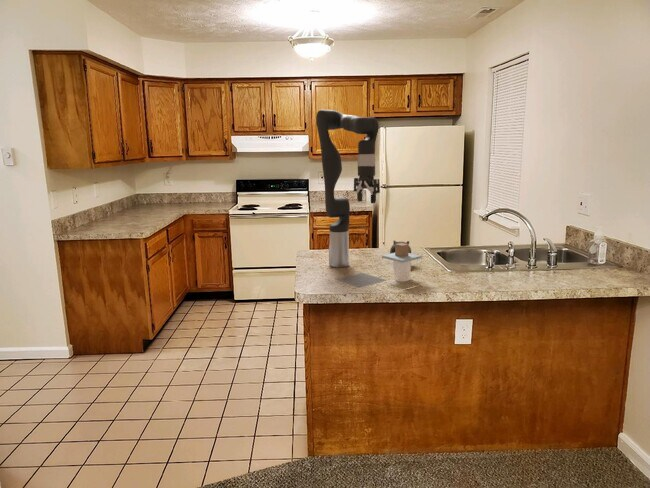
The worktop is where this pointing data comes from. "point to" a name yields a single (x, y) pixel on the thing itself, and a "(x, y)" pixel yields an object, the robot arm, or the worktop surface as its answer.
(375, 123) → the robot arm
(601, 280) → the worktop surface
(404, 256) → the lid
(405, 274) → the white cup
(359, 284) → the mat
